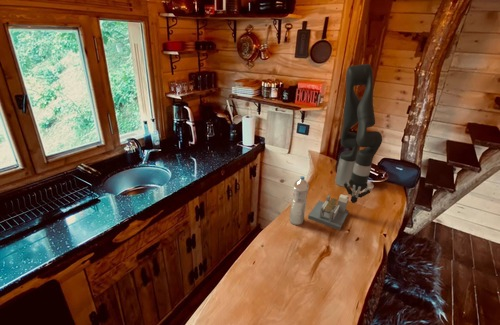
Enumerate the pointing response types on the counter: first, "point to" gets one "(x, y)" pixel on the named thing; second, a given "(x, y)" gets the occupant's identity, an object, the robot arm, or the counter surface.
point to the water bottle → (299, 201)
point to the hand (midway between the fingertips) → (353, 202)
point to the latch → (343, 198)
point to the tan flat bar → (330, 205)
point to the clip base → (325, 219)
